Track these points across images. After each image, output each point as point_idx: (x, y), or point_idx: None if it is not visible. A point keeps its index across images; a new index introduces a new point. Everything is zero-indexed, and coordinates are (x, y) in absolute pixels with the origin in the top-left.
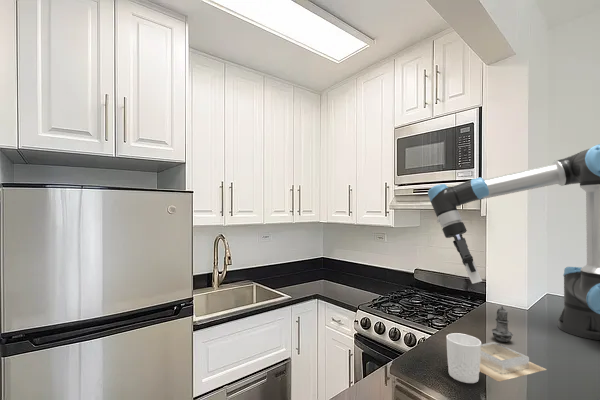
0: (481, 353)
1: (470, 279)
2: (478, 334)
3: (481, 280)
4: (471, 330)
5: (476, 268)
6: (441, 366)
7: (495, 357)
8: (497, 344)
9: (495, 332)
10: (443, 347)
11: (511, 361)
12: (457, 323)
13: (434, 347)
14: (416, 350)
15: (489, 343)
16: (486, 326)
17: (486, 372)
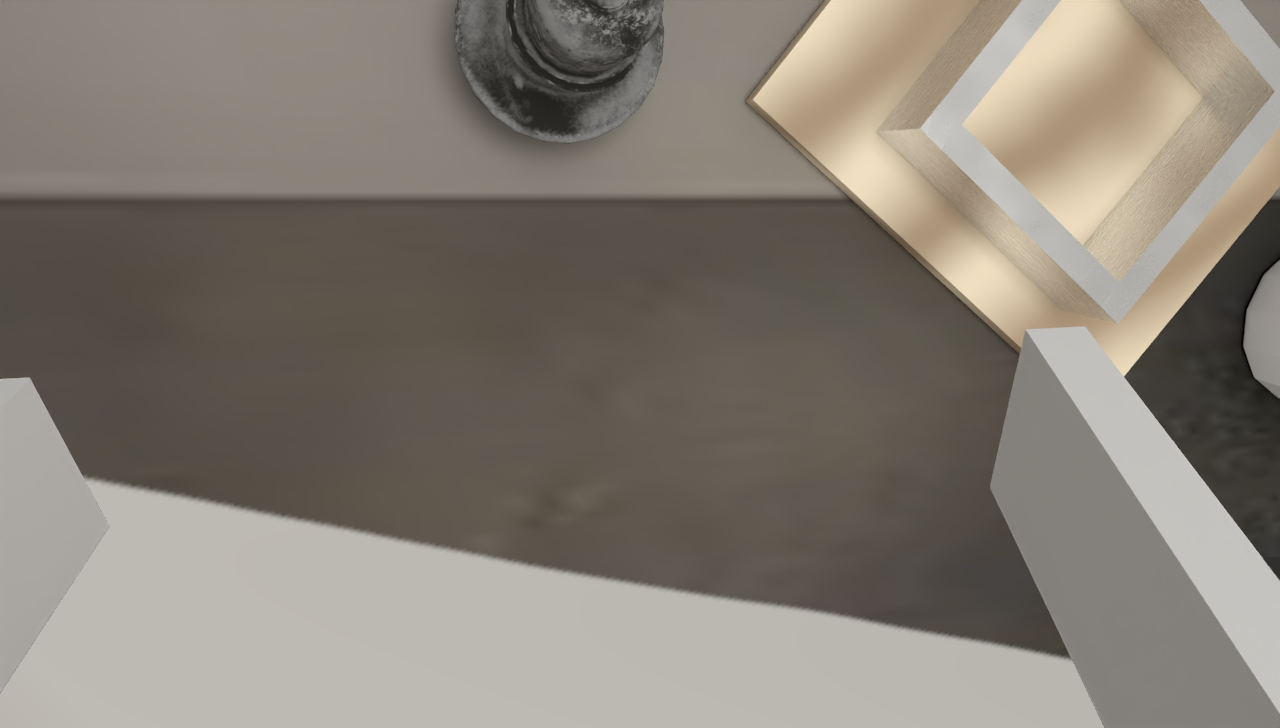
0: (1189, 231)
1: (55, 608)
2: (420, 263)
3: (1093, 350)
4: (334, 334)
5: (1266, 587)
6: (1210, 455)
7: (981, 126)
8: (972, 103)
9: (622, 104)
10: (910, 497)
11: (1252, 19)
12: (184, 485)
13: (942, 552)
14: (1049, 641)
15: (977, 170)
16: (58, 187)
17: (1243, 193)
